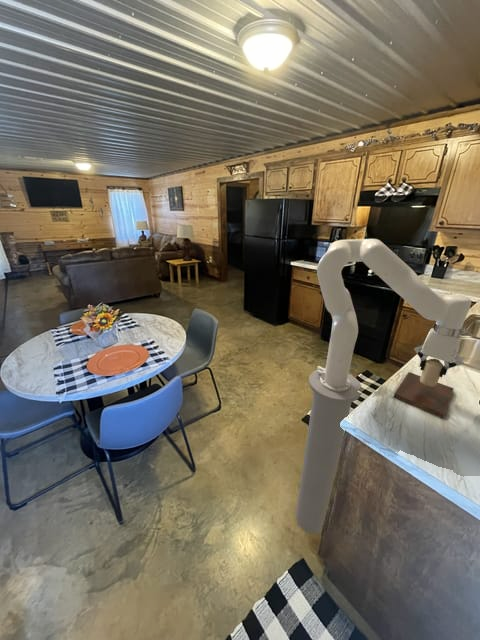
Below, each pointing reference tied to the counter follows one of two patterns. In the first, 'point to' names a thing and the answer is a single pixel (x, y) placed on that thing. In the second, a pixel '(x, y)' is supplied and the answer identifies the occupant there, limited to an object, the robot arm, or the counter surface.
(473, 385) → the counter surface
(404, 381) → the walnut board
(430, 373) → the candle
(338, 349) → the robot arm
